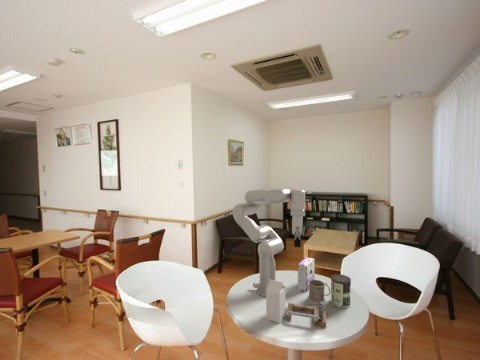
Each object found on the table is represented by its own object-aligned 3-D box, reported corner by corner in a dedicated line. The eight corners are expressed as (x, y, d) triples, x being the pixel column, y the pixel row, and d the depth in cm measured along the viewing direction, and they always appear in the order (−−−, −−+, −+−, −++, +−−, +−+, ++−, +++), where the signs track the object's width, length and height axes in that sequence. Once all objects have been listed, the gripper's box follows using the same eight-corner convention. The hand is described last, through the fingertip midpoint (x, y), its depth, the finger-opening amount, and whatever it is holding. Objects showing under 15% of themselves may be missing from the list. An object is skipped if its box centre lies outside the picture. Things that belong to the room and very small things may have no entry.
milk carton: (279, 323, 123) (279, 285, 122) (266, 319, 127) (266, 281, 126) (285, 316, 129) (285, 279, 128) (272, 311, 133) (272, 276, 132)
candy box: (305, 281, 168) (306, 256, 167) (314, 283, 164) (315, 258, 163) (297, 289, 156) (297, 263, 155) (306, 292, 153) (307, 265, 152)
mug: (303, 298, 146) (304, 277, 146) (316, 293, 151) (316, 274, 151) (323, 310, 134) (323, 288, 133) (336, 305, 139) (336, 283, 138)
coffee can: (348, 298, 145) (348, 274, 144) (352, 309, 135) (352, 283, 134) (329, 297, 147) (329, 273, 146) (331, 306, 137) (332, 281, 136)
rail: (286, 320, 125) (286, 311, 125) (287, 319, 126) (287, 310, 126) (320, 326, 121) (320, 317, 120) (320, 325, 122) (320, 316, 121)
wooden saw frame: (285, 320, 125) (285, 315, 125) (288, 307, 137) (288, 302, 137) (326, 327, 120) (326, 322, 120) (325, 313, 131) (325, 308, 131)
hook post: (318, 323, 119) (318, 305, 119) (318, 318, 123) (318, 301, 122) (322, 323, 119) (322, 306, 118) (322, 318, 122) (322, 301, 122)
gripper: (291, 209, 145) (290, 239, 146) (290, 215, 128) (289, 248, 129) (304, 209, 143) (304, 239, 144) (305, 216, 126) (305, 249, 128)
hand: (297, 244), depth 137 cm, fingers open, 9 cm apart
